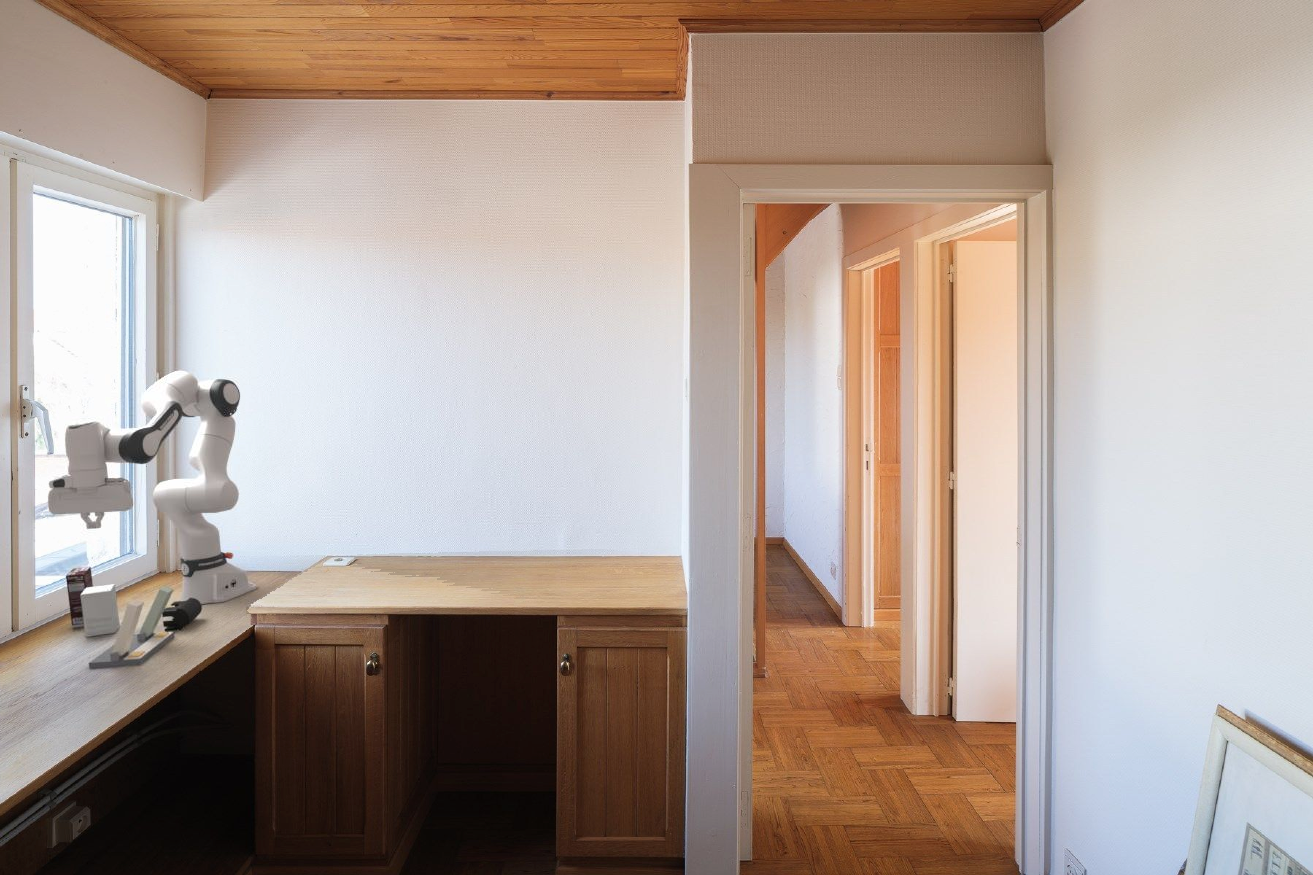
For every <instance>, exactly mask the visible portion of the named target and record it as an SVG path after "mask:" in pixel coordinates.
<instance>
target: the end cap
mask: <svg viewBox="0 0 1313 875" xmlns="http://www.w3.org/2000/svg"><path fill="white" fill-rule="evenodd" d="M202 609H203V604H201V603H200V601H198V600H197V599H195V598H189V599H188V600H187V601H180V600H179V601H178V600H177V601H173V602H172V603H171V604H170V606H169V607H165V609H164V611H163V613H162V615H161V617H162V618H169V617H170V618H171V617H172V618H171V620H162V624H163V627H164V631H165V632H175V631H176V632H178V631H181V630H183V629H184V628H186V626H188V625H189V624H191V623H192V622H193V621H194V620H195V619H196V618H197V617H198V616H200V614H201V613H202V611H203V610H202Z"/></svg>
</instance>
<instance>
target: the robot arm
mask: <svg viewBox="0 0 1313 875" xmlns="http://www.w3.org/2000/svg"><path fill="white" fill-rule="evenodd" d="M240 399H241V392H240V389H239V388H238V385H237V384H236V383H235V382H234V381H232V380H230V379H222V378H220V379H216V380H215V379H214V380H203V381H198V379H197V378H196V376H194V375H193V374H192V373H190V372H188V371H186V370H185V371H184V370H177V371H174V372H171V373H169V374H167V375H165V376H164V377H161V379H159V380H158V381H156V382H155V383H153V385H151V386H150V387H149V388H147V390H145V391H144V393H143V394H142V396H141V399H140V403H141V408H142V411H143V412H144V414H146V416H147V417H149V419H151V420H150V421H149V422H148V423H147V425H146V426H142V427H137V428H112V427H108V426H106V425H104V424H102V423H100V421H99V420H98V419H91V418H90V419H89V418H87V419H82V420H76V421H73V422H70V423H69V424H68V425H67V426H66V429H65V434H64V435H65V436H64V442H65V443H64V445H65V446H64V447H65V454H66V457H67V460H68V467H67V473H68V474H66V475H62V476H61V477H58V478H55V479H52V480H50V481H49V482H48V486H49V489H50V490H49V491H48V496H47V498H48V499H47V503H48V504H47V505H48V511H49V512H50V514H52V515H70V514H79V515H80V518H81V519H82V520H83V521H84V523H85V524H86V529H87V530H91V529H100V528H102V521H103V518H104V517H105V515H106V514H105V513H110V512H111V513H113V512H126V511H130V510H131V509H132V508H133V507H134V500H133V496H132V493H131V492H132V491H131V488H132V486H131V482H130V481H129V480H128V479H126V478H124V477H118V478H116V477H109V475H108V465H107V463H114V464H121V463H129V464H137V465H146V464H149V463H151V461H153V459H154V458H155V457H156V456H157V454H158V452H159V450H160V448H161V446H162V444H163V443H164V442H165V440H166V439H167V437H169V435H170V434H171V433H172V431H173V430H174V429H175V428H176V427H177V425H178V424H179V423H180V421H181V419H182V417H184V418H196V417H200V426H199V428H198V429H197V432H196V435H195V438H194V441H193V444H192V447H191V450H190V452H189V455H188V460H189V464H190V466H192V467H193V468H194V469H195V470H197V471H198V476H197V477H196V478H174V479H169V480H164V481H161V482H159V483H158V484H157V485H156V487H155V488H154V490H153V493H152V501H153V504H154V506H155V508H157V509H158V510H159V511H160V512H162V513H163V514H164V515H166V517H167V518H168V519H169V520H170V521H171V523H172V524H173V525H174V527H175V530H176V532H177V535H178V538H179V539H178V540H179V544H180V545H179V546H180V554H181V557H180V558H179V559H180V560H179V561H180V571H181V574H182V586H181V593H180V599H179V601H187V600H188V599H189V598H195V599H197V600H198V601H200V603H201V605H203V604H204V605H205V604H212V603H224V602H226V601H229V600H231V599H234V598H237V597H239V596H241V595H244V594H247V593H249V592H251V591H254V590H257V584H256V583H253V582H250V581H249V578H248V576H247V572H246V571H245V570H243V569H242V568H240V567H237V566H235V565H234V564H232V563H231V562H230V563H229V562H228V560H227V559H229V560H231V559H233V557H234V554H233V552H229V551H228V552H223V551H222V549H221V540H220V539H221V536H220V531H219V529H218V527H217V526H215V524H212V523H211V522H209V521H208V520H207V519H205V517H204V516H203V514H217V513H221V512H226V511H230V510H232V509H234V507H235V506H236V505H237V503H238V501H239V498H240V496H239V495H240V493H239V489H238V487H237V484H235V483H234V482H233V480H231V479H230V477H229V475H228V472H227V471H228V470H227V467H228V462H229V457H230V454H231V450H232V448H233V444H234V440H235V436H236V435H235V434H236V425H237V424H236V421H235V418H234V417H233V415H235V413H236V412H237V411H238V406H239V404H240V401H241V400H240ZM91 513H94V515H95V517H96V519H95V520H93V521H92V519H91V518H90V516H91Z"/></svg>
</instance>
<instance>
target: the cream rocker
mask: <svg viewBox="0 0 1313 875" xmlns="http://www.w3.org/2000/svg"><path fill="white" fill-rule="evenodd" d="M144 604H145V602H144V601H141V600H137V599H132V601H130V602H129V603H127V605H126V609H125V612H124V615H123V618H122V621H121V623H120V624H121V625H120V626H119V627H120V628H119V630H118V634H117V637H116V639H115V643H114V644H115V646H114V649H113V652H118V653H119V656H122V655H123V654H125V653H126V652H127V651H129V648H130V645H131V641H132V638H133V635H134V634H135V633H136V629H137V626H138V622H139V619H140V617H141V614H142V611H143V610H142V609H143V607H144ZM113 652H112V653H113Z"/></svg>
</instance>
